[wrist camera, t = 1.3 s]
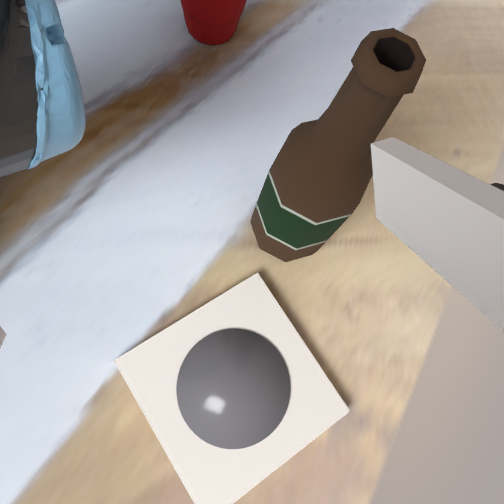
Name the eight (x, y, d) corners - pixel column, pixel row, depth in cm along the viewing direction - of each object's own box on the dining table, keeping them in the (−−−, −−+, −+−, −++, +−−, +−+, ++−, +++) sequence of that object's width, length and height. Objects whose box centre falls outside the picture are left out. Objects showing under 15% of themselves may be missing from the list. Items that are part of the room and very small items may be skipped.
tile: (115, 361, 37) (113, 360, 36) (255, 275, 41) (257, 271, 40) (205, 520, 34) (206, 525, 33) (345, 410, 38) (350, 411, 37)
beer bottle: (251, 189, 44) (321, -22, 21) (323, 199, 45) (462, 6, 22) (246, 259, 41) (317, 104, 19) (322, 268, 42) (477, 130, 20)
